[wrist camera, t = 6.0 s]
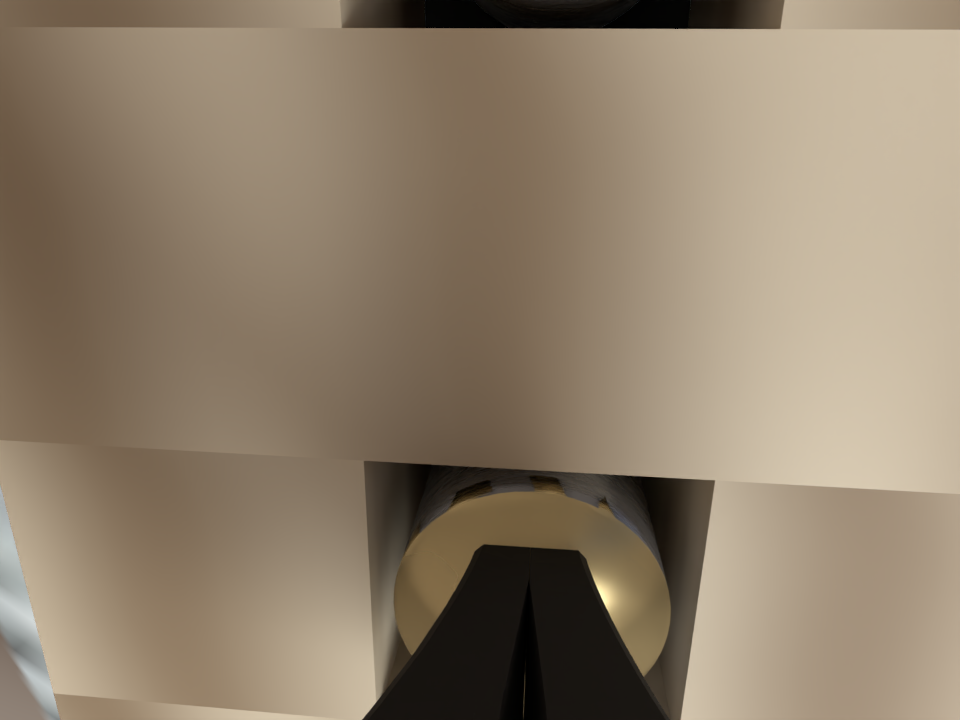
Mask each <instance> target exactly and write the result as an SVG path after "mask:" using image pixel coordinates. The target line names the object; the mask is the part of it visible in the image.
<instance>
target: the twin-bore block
mask: <svg viewBox="0 0 960 720" xmlns="http://www.w3.org/2000/svg"><path fill="white" fill-rule="evenodd" d="M432 465H450V466H468V467H486V468H503V469H521V470H539V471H557V472H574V473H592V474H610V475H628V476H642V477H641V480H642V484H643V488H644V492H645V496H646V500H647V504H648V508H649V512H650V516H651V521H652V525H653V529H654V533H655V537H656V541H657V545H658V549H659V553H660V557H661V561H662V565H663V570H664V574H665V578H666V582H667V586H668V590H669V596H670V604H671V616H670V626H669V631H668V635H667V639H666V641H665V644H664V647H663V649H662V652H661V653H660V655H659V657H658V659H657V660H656V662H655V664H654V665H653V666H652V668H651V669H650V670H649V671H648V673H647V674H646V675H645V676H644V679H645V680H646V682H647V684H648V685H649V687H650V689H651V690H652V692H653V694H654V695H655V697H656V698H657V700H658V702H659V703H660V705H661V707H662V708H663V710H664V711H665V713H666V714H667V716H668V717H669V719H670V720H960V0H691V1H690V11H689V20H688V29H524V28H425V0H0V485H1V489H2V493H3V497H4V501H5V505H6V509H7V512H8V516H9V520H10V524H11V528H12V532H13V536H14V540H15V544H16V548H17V552H18V556H19V559H20V563H21V567H22V571H23V575H24V579H25V583H26V587H27V591H28V595H29V599H30V602H31V606H32V610H33V614H34V618H35V622H36V626H37V630H38V634H39V638H40V642H41V646H42V649H43V653H44V657H45V661H46V665H47V669H48V673H49V677H50V681H51V685H52V689H53V693H54V696H55V700H56V704H57V708H58V712H59V716H60V720H362V719H363V718H364V717H365V715H366V714H367V713H368V712H369V711H370V709H371V708H372V707H373V706H374V704H375V703H376V702H377V701H378V699H379V698H380V697H381V695H382V694H383V693H384V692H385V690H386V689H387V688H388V686H389V685H390V684H391V682H392V681H393V680H394V679H395V677H396V676H397V675H398V673H399V672H400V671H401V670H402V668H403V667H404V666H405V664H406V663H407V662H408V660H409V659H410V658H411V656H412V655H411V654H410V652H409V651H408V649H407V647H406V646H405V644H404V641H403V639H402V637H401V635H400V632H399V629H398V626H397V622H396V618H395V612H394V603H393V601H394V586H395V581H396V576H397V572H398V569H399V566H400V563H401V560H402V557H403V554H404V550H405V547H406V544H407V541H408V538H409V535H410V532H411V529H412V526H413V523H414V520H415V517H416V514H417V511H418V508H419V505H420V502H421V499H422V496H423V493H424V490H425V487H426V483H427V480H428V477H429V474H430V471H431V468H432Z"/></svg>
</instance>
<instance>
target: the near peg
mask: <svg viewBox="0 0 960 720" xmlns="http://www.w3.org/2000/svg"><path fill="white" fill-rule="evenodd" d="M473 1H474V2H475V3H476V4H477V5H478V6H479V7H480V8H481V9H482V10H483V11H485V12H486V13H487V14H489V15H490V16H491V17H492V18H494V19H495V20H496V21H498V22H500V23H502V24H504V25H505V26H507V27H509V28H524V29H599V28H601V27H603V26H605V25H607V24H609V23H611V22H613V21H614V20H616V19H617V18H619V17H620V16H622V15H623V14H624V13H626V12H627V11H629V10H630V9H631V8H632V7H633V6H634V5H635V4H636V3H637V2H639V1H640V0H473Z"/></svg>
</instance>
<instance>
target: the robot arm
mask: <svg viewBox="0 0 960 720" xmlns="http://www.w3.org/2000/svg"><path fill="white" fill-rule="evenodd" d="M529 568H530V574H529ZM528 591H529V597H528ZM527 615H528V620H527ZM526 638H527V644H526ZM525 661H526V667H525ZM524 685H525V690H524ZM523 708H524V714H523ZM362 720H670V719H669V717H668V716H667V714H666V713H665V711H664V710H663V708H662V707H661V705H660V703H659V702H658V700H657V698H656V697H655V695H654V694H653V692H652V690H651V689H650V687H649V685H648V684H647V682H646V680H645V679H644V677H643V675H642V673H641V672H640V670H639V668H638V666H637V664H636V663H635V661H634V659H633V657H632V656H631V654H630V652H629V650H628V649H627V647H626V645H625V643H624V642H623V640H622V638H621V636H620V634H619V632H618V630H617V628H616V626H615V624H614V622H613V621H612V618H611V616H610V614H609V612H608V610H607V608H606V606H605V604H604V602H603V600H602V598H601V595H600V593H599V591H598V589H597V586H596V584H595V582H594V579H593V577H592V574H591V571H590V569H589V566H588V563H587V559H586V558H585V557H584V556H583V555H582V554H581V553H580V551H579V550H567V549H550V548H534V547H531V550H530V547H519V546H503V545H488V544H483V545H482V546H481V547H479V548H478V549H477V550H475V552H474V554H473V556H472V559H471V561H470V563H469V565H468V567H467V569H466V571H465V573H464V575H463V577H462V579H461V581H460V582H459V584H458V586H457V588H456V589H455V591H454V593H453V594H452V596H451V598H450V599H449V601H448V603H447V604H446V606H445V608H444V609H443V611H442V612H441V614H440V615H439V617H438V618H437V620H436V621H435V623H434V624H433V626H432V627H431V629H430V630H429V632H428V633H427V635H426V636H425V638H424V639H423V641H422V642H421V643H420V645H419V646H418V648H417V649H416V651H415V652H414V654H413V655H412V656H411V658H410V659H409V660H408V662H407V663H406V664H405V666H404V667H403V668H402V670H401V671H400V672H399V673H398V675H397V676H396V677H395V679H394V680H393V681H392V682H391V684H390V685H389V686H388V688H387V689H386V690H385V692H384V693H383V694H382V695H381V697H380V698H379V699H378V701H377V702H376V703H375V704H374V706H373V707H372V708H371V709H370V711H369V712H368V713H367V714H366V715H365V717H364V718H363V719H362Z"/></svg>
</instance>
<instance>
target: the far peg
mask: <svg viewBox="0 0 960 720" xmlns="http://www.w3.org/2000/svg"><path fill="white" fill-rule="evenodd" d="M483 544H488V545H503V546H519V547H530V550H531V547H534V548H550V549H567V550H579V551H580V553H581V554H582V555H583V556H584V557H585V558H586V559H587V563H588V566H589V569H590V571H591V574H592V577H593V579H594V582H595V584H596V586H597V589H598V591H599V593H600V595H601V598H602V600H603V602H604V604H605V606H606V608H607V610H608V612H609V614H610V616H611V618H612V621H613V622H614V624H615V626H616V628H617V630H618V632H619V634H620V636H621V638H622V640H623V642H624V643H625V645H626V647H627V649H628V650H629V652H630V654H631V656H632V657H633V659H634V661H635V663H636V664H637V666H638V668H639V670H640V672H641V673H642V675H643V677H644V676H645V675H646V674H647V673H648V671H649V670H650V669H651V668H652V666H653V665H654V664H655V662H656V660H657V659H658V657H659V655H660V653H661V652H662V649H663V647H664V644H665V641H666V639H667V635H668V631H669V626H670V616H671V604H670V596H669V590H668V586H667V582H666V578H665V574H664V570H663V565H662V561H661V557H660V553H659V549H658V545H657V541H656V537H655V533H654V529H653V525H652V521H651V516H650V512H649V508H648V504H647V500H646V496H645V492H644V488H643V484H642V480H641V476H628V475H610V474H592V473H574V472H557V471H539V470H521V469H503V468H486V467H468V466H450V465H432V468H431V471H430V474H429V477H428V480H427V483H426V487H425V490H424V493H423V496H422V499H421V502H420V505H419V508H418V511H417V514H416V517H415V520H414V523H413V526H412V529H411V532H410V535H409V538H408V541H407V544H406V547H405V550H404V554H403V557H402V560H401V563H400V566H399V569H398V572H397V576H396V581H395V586H394V601H393V603H394V612H395V618H396V622H397V626H398V629H399V632H400V635H401V637H402V639H403V641H404V644H405V646H406V647H407V649H408V651H409V652H410V654H411V655H413V654H414V652H415V651H416V649H417V648H418V646H419V645H420V643H421V642H422V641H423V639H424V638H425V636H426V635H427V633H428V632H429V630H430V629H431V627H432V626H433V624H434V623H435V621H436V620H437V618H438V617H439V615H440V614H441V612H442V611H443V609H444V608H445V606H446V604H447V603H448V601H449V599H450V598H451V596H452V594H453V593H454V591H455V589H456V588H457V586H458V584H459V582H460V581H461V579H462V577H463V575H464V573H465V571H466V569H467V567H468V565H469V563H470V561H471V559H472V556H473V554H474V552H475V550H477V549H478V548H479V547H481V546H482V545H483ZM529 574H530V568H529ZM528 597H529V591H528ZM527 620H528V615H527ZM526 644H527V638H526ZM525 667H526V661H525ZM524 690H525V685H524ZM523 714H524V708H523Z"/></svg>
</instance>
